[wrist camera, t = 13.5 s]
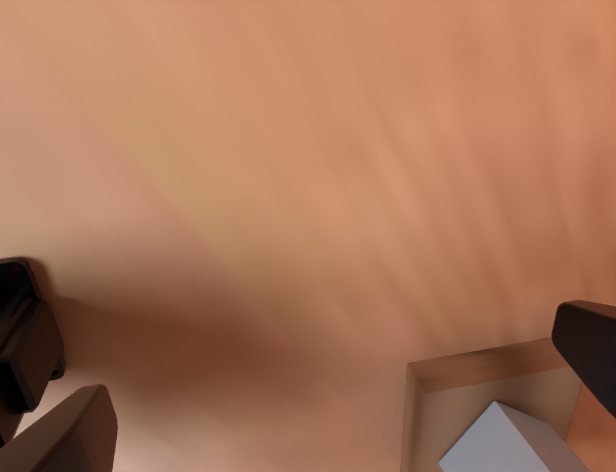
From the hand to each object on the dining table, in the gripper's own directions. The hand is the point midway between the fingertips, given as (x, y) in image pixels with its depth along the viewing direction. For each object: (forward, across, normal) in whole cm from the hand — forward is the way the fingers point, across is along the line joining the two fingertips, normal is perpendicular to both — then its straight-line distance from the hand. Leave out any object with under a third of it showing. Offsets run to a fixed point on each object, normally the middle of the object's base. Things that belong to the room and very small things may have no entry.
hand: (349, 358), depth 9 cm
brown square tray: (+14, +12, -18) cm, 26 cm away
